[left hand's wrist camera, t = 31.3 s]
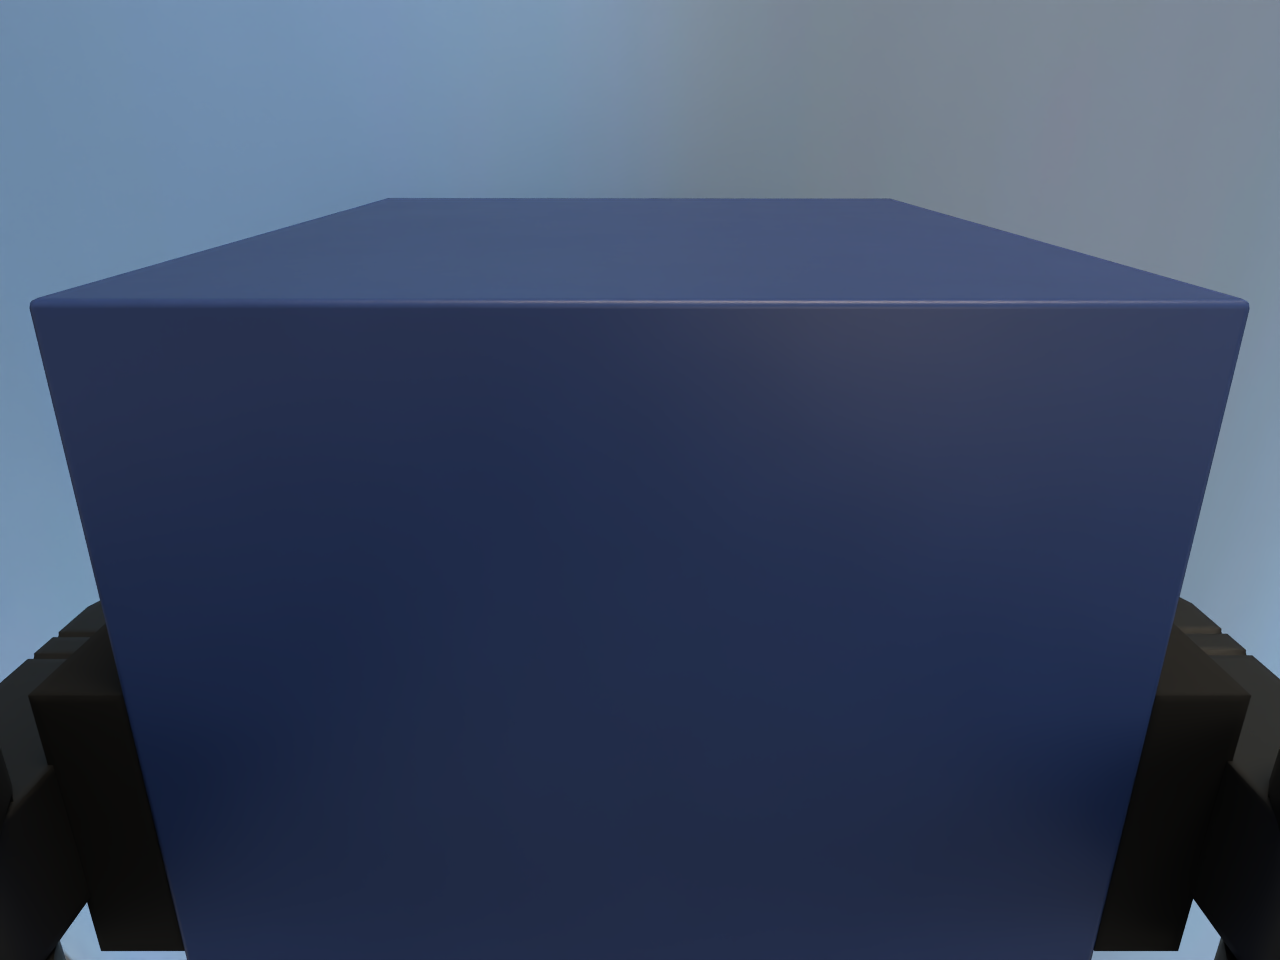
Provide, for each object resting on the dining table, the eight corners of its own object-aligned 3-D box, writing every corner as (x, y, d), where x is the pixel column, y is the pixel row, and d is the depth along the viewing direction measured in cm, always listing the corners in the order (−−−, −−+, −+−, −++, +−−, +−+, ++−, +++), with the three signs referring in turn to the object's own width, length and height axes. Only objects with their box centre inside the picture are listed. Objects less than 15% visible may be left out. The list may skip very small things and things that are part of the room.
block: (846, 680, 18) (1037, 1191, 9) (431, 681, 18) (240, 1192, 9) (893, 198, 15) (1255, 300, 6) (384, 198, 15) (21, 299, 6)
